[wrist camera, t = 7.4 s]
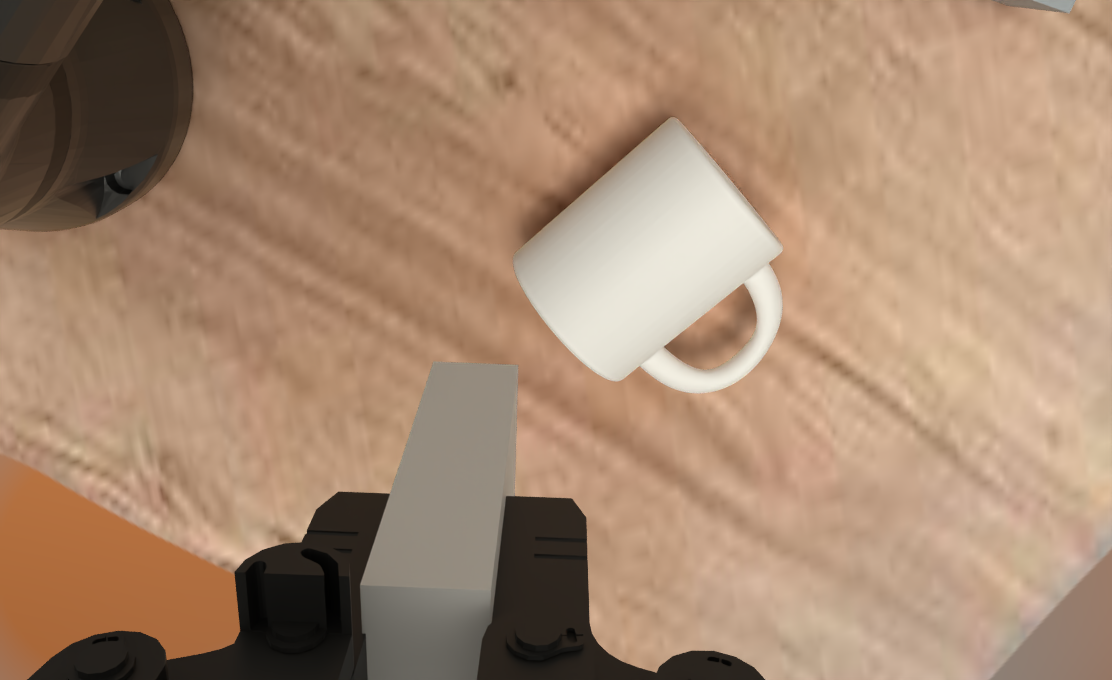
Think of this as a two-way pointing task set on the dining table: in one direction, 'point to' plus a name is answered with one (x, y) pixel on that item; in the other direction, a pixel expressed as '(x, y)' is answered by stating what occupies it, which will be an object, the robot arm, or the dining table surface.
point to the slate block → (1041, 4)
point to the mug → (653, 264)
